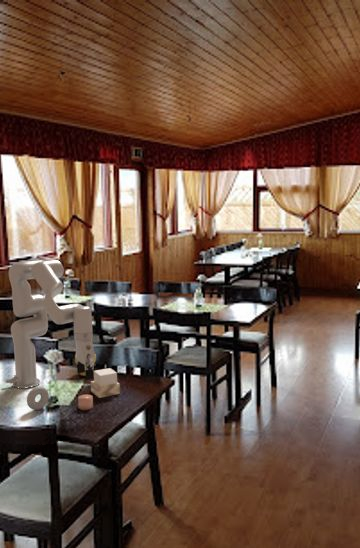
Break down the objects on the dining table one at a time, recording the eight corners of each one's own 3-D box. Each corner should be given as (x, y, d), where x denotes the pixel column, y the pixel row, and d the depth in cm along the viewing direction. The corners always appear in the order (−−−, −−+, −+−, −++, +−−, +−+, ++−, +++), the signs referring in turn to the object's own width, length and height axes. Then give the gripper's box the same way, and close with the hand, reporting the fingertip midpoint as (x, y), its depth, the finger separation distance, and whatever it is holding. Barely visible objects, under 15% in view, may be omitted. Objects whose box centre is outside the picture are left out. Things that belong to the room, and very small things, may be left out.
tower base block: (99, 398, 244) (98, 387, 243) (91, 391, 252) (90, 381, 252) (120, 394, 249) (119, 383, 248) (111, 387, 257) (110, 377, 257)
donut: (29, 414, 226) (28, 390, 225) (25, 411, 229) (24, 388, 227) (51, 407, 233) (50, 384, 232) (46, 405, 236) (45, 382, 234)
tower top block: (100, 386, 245) (100, 375, 244) (94, 381, 251) (93, 370, 251) (117, 383, 248) (116, 372, 248) (110, 378, 255) (110, 368, 255)
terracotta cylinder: (81, 411, 229) (81, 400, 229) (76, 406, 234) (76, 396, 234) (95, 408, 232) (94, 397, 232) (89, 403, 237) (89, 393, 237)
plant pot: (75, 371, 281) (74, 352, 280) (96, 369, 283) (95, 351, 282) (75, 377, 271) (75, 358, 270) (96, 376, 273) (96, 357, 272)
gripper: (99, 338, 223) (101, 379, 225) (84, 330, 238) (86, 369, 240) (82, 341, 219) (84, 382, 222) (67, 333, 234) (69, 372, 237)
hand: (85, 375), depth 231 cm, fingers open, 9 cm apart
